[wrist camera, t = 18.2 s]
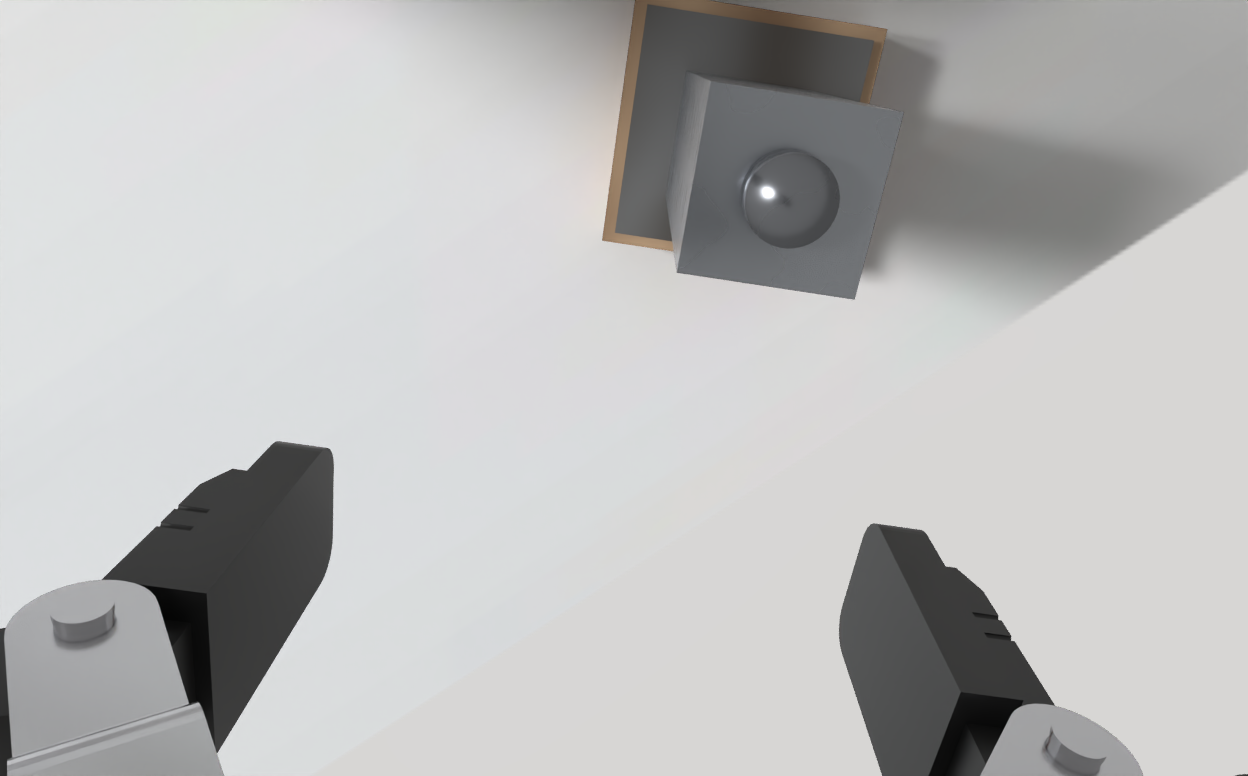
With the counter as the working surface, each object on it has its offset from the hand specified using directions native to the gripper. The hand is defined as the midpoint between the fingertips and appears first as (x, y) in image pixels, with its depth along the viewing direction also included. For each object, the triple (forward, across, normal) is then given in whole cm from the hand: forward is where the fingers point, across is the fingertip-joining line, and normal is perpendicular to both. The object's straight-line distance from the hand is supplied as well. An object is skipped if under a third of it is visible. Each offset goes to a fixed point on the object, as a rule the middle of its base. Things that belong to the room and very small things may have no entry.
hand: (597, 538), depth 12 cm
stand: (+28, +4, +4) cm, 29 cm away
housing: (+25, +4, +4) cm, 25 cm away
